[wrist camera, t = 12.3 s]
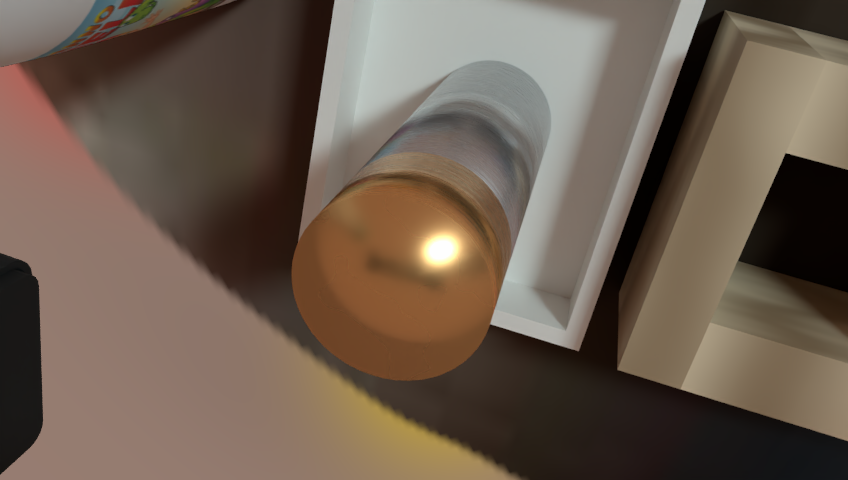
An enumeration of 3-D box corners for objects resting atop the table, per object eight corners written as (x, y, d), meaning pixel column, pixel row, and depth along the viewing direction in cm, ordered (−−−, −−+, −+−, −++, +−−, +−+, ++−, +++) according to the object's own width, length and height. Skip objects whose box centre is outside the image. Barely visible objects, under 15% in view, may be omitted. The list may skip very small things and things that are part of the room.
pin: (566, 78, 25) (517, 230, 14) (532, 193, 26) (466, 405, 16) (444, 46, 25) (306, 168, 14) (419, 161, 27) (279, 345, 16)
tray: (703, -33, 23) (713, -21, 20) (583, 307, 28) (578, 351, 26) (381, -112, 24) (351, -111, 22) (324, 229, 30) (294, 263, 27)
